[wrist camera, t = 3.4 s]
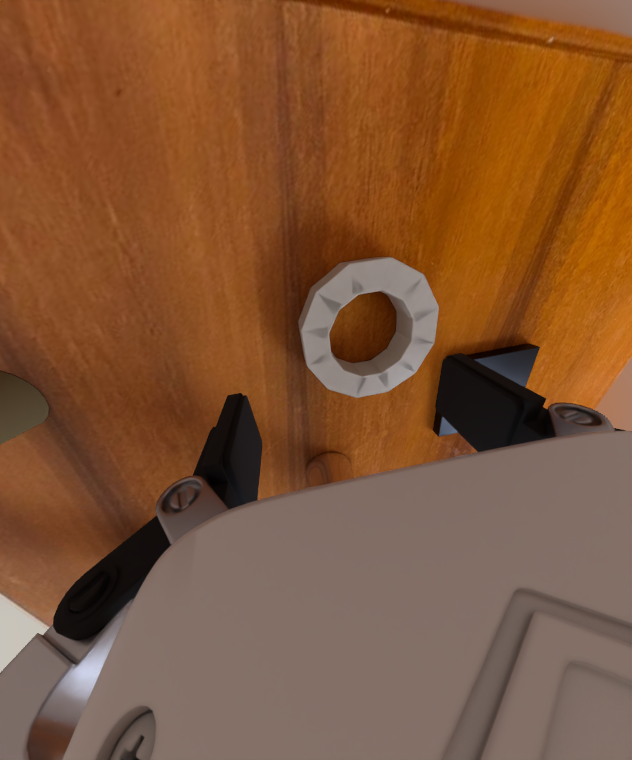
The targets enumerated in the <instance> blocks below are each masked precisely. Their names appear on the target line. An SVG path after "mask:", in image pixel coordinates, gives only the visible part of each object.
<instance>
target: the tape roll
mask: <svg viewBox="0 0 632 760" xmlns="http://www.w3.org/2000/svg"><path fill="white" fill-rule="evenodd" d="M377 291H380V292H382V293H384V294H386V295H388V297H389V299H390V301H391V302H392V304H393V306H394V308H395V310H396V311H397V318H396V332H395V334H394V336H393V338H392V339H391V341H390V343H389V345H388V347H387V348H386V349H385V350H384V351H382V352H381V353H380V354H378V355H377V356H376V357H374V358H373V359H372V360H369V361H363V362H358V363H350V362H347V361H344V360H341V359H338V358H336V357H335V355H334V354H333V353H332V352H331V347H330V337H329V332H330V330H331V328H332V325H333V323H334V321H335V318H336V316H337V314H338V311H339V310H340V309H341V308H343V307H344V306H345V305H346V304H348V303H349V302H350V301H351V300H353V299H354V298H355V297H356V296H358V295H359V294H365V293H371V292H377ZM438 310H439V306H438V304H437V302H436V300H435V298H434V295H433V293H432V291H431V289H430V287H429V284H428V282H427V280H426V278H425V276H424V274H422V273H420V272H419V271H417V270H415V269H413V268H411V267H409V266H407V265H405V264H404V263H402V262H400V261H398V260H396V259H394V258H392V257H375V258H368V259H362V260H355V261H349V262H342V263H339V264H338V265H337V266H336V267H334V268H333V269H332V270H331V271H330V272H329V273H327V274H326V275H325V276H324V277H323V278H322V279H320V280H319V281H318V282H317V283H316V284H315V285H313V286H312V287H311V288H310V291H309V294H308V296H307V299H306V302H305V305H304V307H303V310H302V313H301V315H300V318H299V321H298V325H299V330H300V336H301V342H302V348H303V354H304V357H305V361H306V365H307V367H308V368H309V369H310V370H311V371H312V372H313V373H314V375H315V376H316V377H317V378H318V379H319V380H320V381H321V382H322V383H323V384H324V386H325V387H326V388H327V389H329V390H332V391H336V392H339V393H343V394H346V395H350V396H353V397H356V398H358V397H363V396H368V395H374V394H379V393H384V392H388V391H390V390H391V389H393V388H394V387H396V386H397V385H398V384H400V383H401V382H403V381H404V380H406V379H407V378H409V377H410V376H411V375H413V374H414V373H416V371H417V370H418V368H419V366H420V365H421V363H422V362H423V360H424V359H425V357H426V355H427V354H428V352H429V351H430V349H431V348H432V346H433V344H434V342H435V335H436V327H437V318H438Z"/></svg>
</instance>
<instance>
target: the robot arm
mask: <svg viewBox="0 0 632 760" xmlns="http://www.w3.org/2000/svg"><path fill="white" fill-rule="evenodd" d="M545 400H546V398H544V397H542V396H540V395H538V394H536V393H534V392H533V391H531V390H529V389H527V388H525V387H523V386H521V385H520V384H518V383H516V382H514V381H512V380H510V379H508V378H507V377H505V376H503V375H501V374H499V373H497V372H495V371H494V370H492V369H490V368H488V367H486V366H484V365H482V364H481V363H479V362H477V361H475V360H473V359H471V358H469V357H468V356H466V355H464V354H461V353H460V354H454V355H449V356H447V357H446V359H444V360H443V363H442V369H441V375H440V382H439V388H438V394H437V400H436V409H437V411H438V413H439V414H440V415H441V416H442V417H443V418H444V419H445V420H446V421H447V422H448V423H449V424H450V425H451V426H452V427H453V428H454V429H455V430H456V431H457V432H458V433H459V434H460V435H461V436H462V437H463V438H464V439H465V440H466V441H467V442H468V443H469V444H470V445H472V446H473V447H474V448H475V449H476V450H477V451H478V452H477V453H472V454H467V455H462V456H457V457H453V458H448V459H443V460H438V461H433V462H428V463H424V464H419V465H414V466H409V467H404V468H400V469H395V470H390V471H385V472H381V473H376V474H371V475H366V476H362V477H357V478H352V479H348V480H343V481H338V482H334V483H329V484H324V485H320V486H315V487H311V488H306V489H302V490H298V491H293V492H289V493H285V494H280V495H276V496H272V497H268V498H264V499H260V500H257V497H258V486H259V476H260V465H261V454H262V440H261V437H260V434H259V431H258V428H257V425H256V422H255V419H254V416H253V413H252V410H251V407H250V404H249V401H248V398H247V396H246V395H245V396H243V395H242V394H241V393H239V394H233V395H228V396H227V399H226V401H225V404H224V407H223V409H222V412H221V415H220V417H219V420H218V423H217V425H216V427H213V428H212V429H211V431H210V433H209V436H208V438H207V441H206V443H205V446H204V448H203V451H202V453H201V456H200V458H199V461H198V463H197V466H196V468H195V471H194V473H193V476H187V477H185V478H182V479H180V480H178V481H176V482H175V483H173V484H172V485H171V486H169V487H168V488H167V489H166V490H165V491H164V492H163V493H162V494H161V496H160V498H159V499H158V501H157V504H156V508H155V510H156V515H157V516H156V517H154V518H153V519H152V520H151V521H149V522H148V523H147V524H146V525H145V526H143V527H142V528H141V529H140V530H138V531H137V532H136V533H135V534H133V535H132V536H131V537H130V538H128V539H127V540H126V541H125V542H123V543H122V544H121V545H120V546H118V547H117V548H116V549H115V550H113V551H112V552H111V553H110V554H109V555H107V556H106V557H105V558H104V559H102V560H101V561H100V562H99V563H97V564H96V565H95V566H94V567H92V568H91V569H90V570H89V571H87V572H86V573H85V574H84V575H83V576H82V577H81V578H80V579H79V580H77V581H76V582H75V583H74V585H73V586H72V587H71V588H70V589H69V591H68V592H67V593H66V594H65V596H64V597H63V599H62V601H61V602H60V604H59V605H58V608H57V610H56V613H55V615H54V621H53V625H52V626H51V627H50V628H49V629H48V630H47V631H46V632H45V634H44V635H41V634H38V633H37V634H36V635H35V637H34V638H33V639H32V640H31V641H30V642H29V643H28V644H27V645H26V646H25V647H24V648H23V649H22V650H21V651H20V653H19V654H18V655H17V656H16V657H15V658H14V659H13V660H12V661H11V662H10V663H9V664H8V665H7V666H6V667H5V668H4V669H3V671H2V672H1V673H0V760H632V431H625V430H620V429H616V428H613V426H612V425H611V423H610V421H609V420H608V419H607V418H606V417H605V416H603V415H602V414H601V413H599V412H597V411H595V410H593V409H591V408H588V407H585V406H582V405H577V404H572V403H554V404H551V405H550V406H549V407H548V409H545V408H544V407H543V405H544V403H545Z"/></svg>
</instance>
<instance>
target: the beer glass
mask: <svg viewBox="0 0 632 760" xmlns="http://www.w3.org/2000/svg"><path fill="white" fill-rule="evenodd" d="M305 474H306V479H307V482H308V485H309V487H310V488H311V487H315V486H320V485H324V484H329V483H334V482H338V481H343V480H348V479H352V478H353V470H352V465H351V462H350V460H349V459H348V458H347V457H346V456H345V455H343V454H340V453H325V454H322V455H319V456H317V457H315V458H314V459H313V460H312V461H310V463H309V464H308V465H307V468H306V472H305Z"/></svg>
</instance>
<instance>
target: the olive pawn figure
mask: <svg viewBox="0 0 632 760" xmlns="http://www.w3.org/2000/svg"><path fill="white" fill-rule="evenodd" d="M48 412H49V407H48V404H47V402H46V399H45V398H44V397H43V396H42V394H41V393H40V392H39V391H38V390H37V389H36V388H35V387H33V386H32V385H31V384H29V383H28V382H26V381H24V380H22V379H20V378H18V377H16V376H14V375H11V374H8V373H4V372H1V371H0V444H2V443H4V442H6V441H8V440H10V439H12V438H14V437H16V436H18V435H20V434H21V433H23V432H25V431H27V430H29V429H31V428H33V427H35V426H37V425H39V424H41V423H43V422H44V421H45V419H46V418H47V417H48Z"/></svg>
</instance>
